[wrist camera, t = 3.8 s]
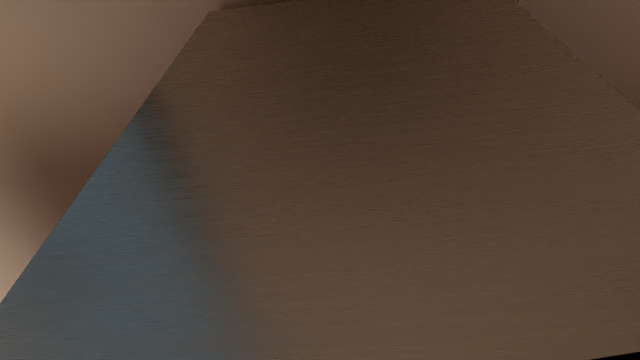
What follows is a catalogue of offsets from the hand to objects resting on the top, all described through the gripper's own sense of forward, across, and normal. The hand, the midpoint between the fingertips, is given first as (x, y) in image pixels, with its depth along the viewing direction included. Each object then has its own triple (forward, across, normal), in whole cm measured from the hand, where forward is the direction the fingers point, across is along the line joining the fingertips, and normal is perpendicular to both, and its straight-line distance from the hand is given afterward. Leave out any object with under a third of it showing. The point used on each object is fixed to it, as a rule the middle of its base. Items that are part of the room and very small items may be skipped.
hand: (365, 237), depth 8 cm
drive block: (+2, 0, 0) cm, 2 cm away
